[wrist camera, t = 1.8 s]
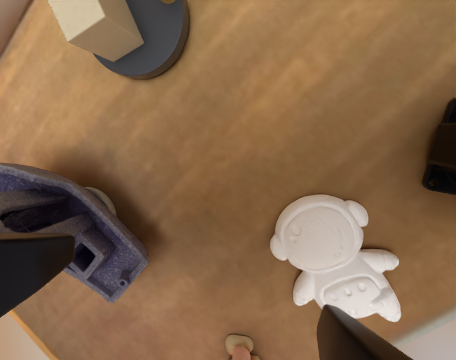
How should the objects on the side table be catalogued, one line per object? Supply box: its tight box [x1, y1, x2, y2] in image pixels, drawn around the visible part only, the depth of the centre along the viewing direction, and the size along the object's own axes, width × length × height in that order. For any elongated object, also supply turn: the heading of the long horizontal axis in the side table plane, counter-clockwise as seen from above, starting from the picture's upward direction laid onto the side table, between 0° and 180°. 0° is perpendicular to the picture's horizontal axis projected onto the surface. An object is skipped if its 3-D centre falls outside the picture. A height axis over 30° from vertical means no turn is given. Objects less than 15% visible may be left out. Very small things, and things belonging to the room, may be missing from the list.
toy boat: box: [0, 163, 149, 303], centre depth 18 cm, size 15×8×13 cm, turn 49°
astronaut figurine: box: [270, 194, 401, 322], centre depth 19 cm, size 9×12×3 cm
